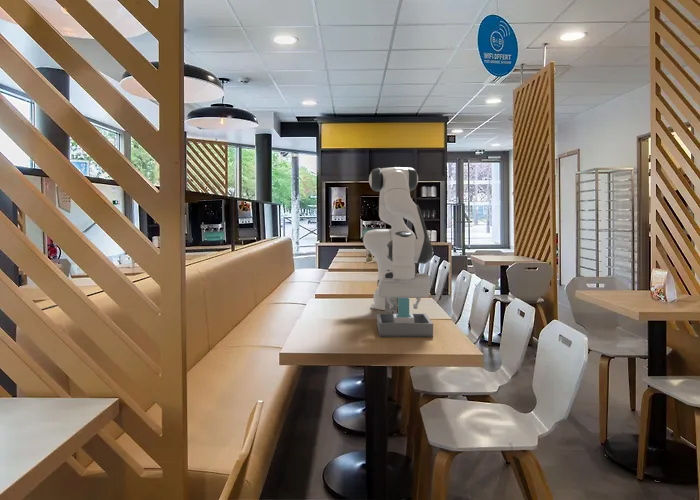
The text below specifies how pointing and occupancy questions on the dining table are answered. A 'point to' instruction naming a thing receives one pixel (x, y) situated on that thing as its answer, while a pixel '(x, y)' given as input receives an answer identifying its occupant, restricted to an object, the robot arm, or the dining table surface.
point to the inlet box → (404, 325)
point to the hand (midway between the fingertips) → (403, 308)
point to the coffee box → (395, 305)
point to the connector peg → (403, 307)
